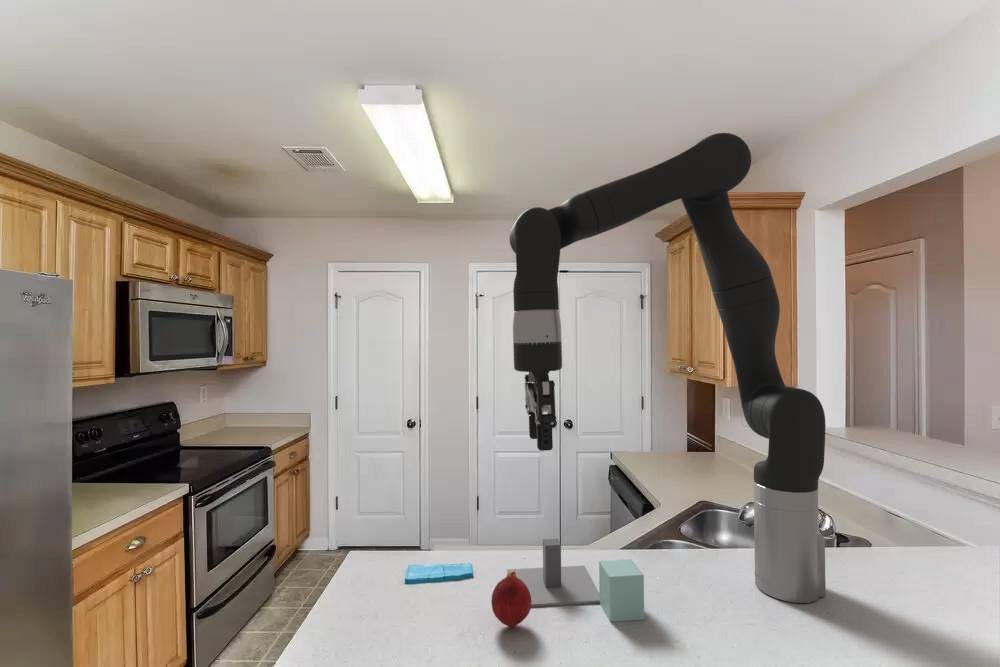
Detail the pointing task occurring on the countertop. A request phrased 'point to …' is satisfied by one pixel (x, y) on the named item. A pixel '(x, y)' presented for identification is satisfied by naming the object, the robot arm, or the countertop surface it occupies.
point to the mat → (572, 590)
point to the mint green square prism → (621, 590)
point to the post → (551, 563)
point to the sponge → (437, 572)
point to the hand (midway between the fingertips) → (540, 443)
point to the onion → (511, 600)
